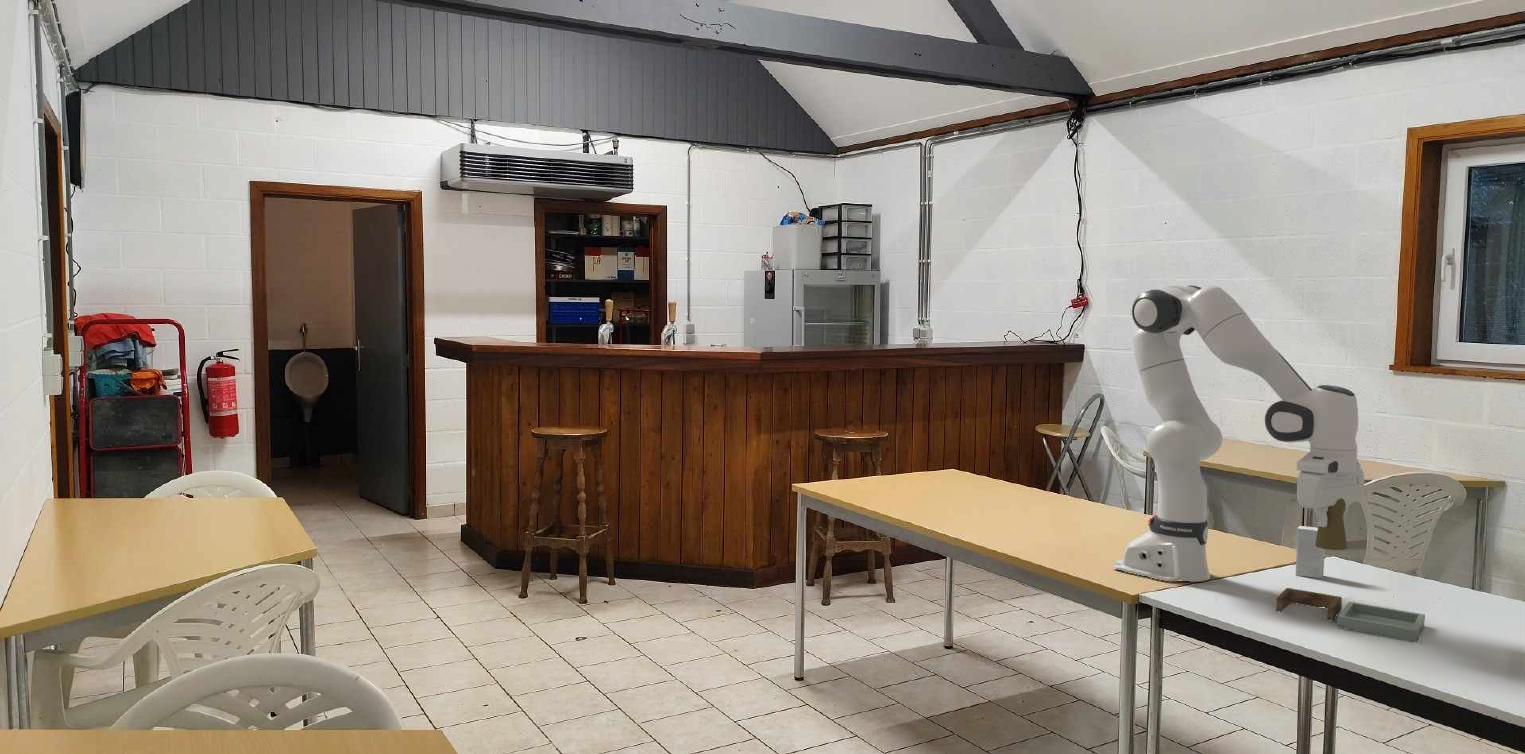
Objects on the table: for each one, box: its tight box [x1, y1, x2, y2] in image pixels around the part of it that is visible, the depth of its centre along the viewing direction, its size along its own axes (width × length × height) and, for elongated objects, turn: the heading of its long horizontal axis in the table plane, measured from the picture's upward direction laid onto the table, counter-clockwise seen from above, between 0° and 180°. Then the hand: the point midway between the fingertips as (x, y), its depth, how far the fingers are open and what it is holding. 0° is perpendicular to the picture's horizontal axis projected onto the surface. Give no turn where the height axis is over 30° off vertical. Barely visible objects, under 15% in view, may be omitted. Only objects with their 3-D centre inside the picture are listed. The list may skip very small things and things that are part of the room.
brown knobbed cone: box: [1315, 499, 1348, 551], centre depth 217 cm, size 6×6×11 cm
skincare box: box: [1295, 525, 1326, 580], centre depth 252 cm, size 6×4×12 cm
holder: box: [1275, 587, 1343, 622], centre depth 222 cm, size 11×10×3 cm
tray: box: [1336, 601, 1426, 643], centre depth 211 cm, size 14×14×2 cm
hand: (1330, 525), depth 217 cm, fingers closed on brown knobbed cone, 4 cm apart
